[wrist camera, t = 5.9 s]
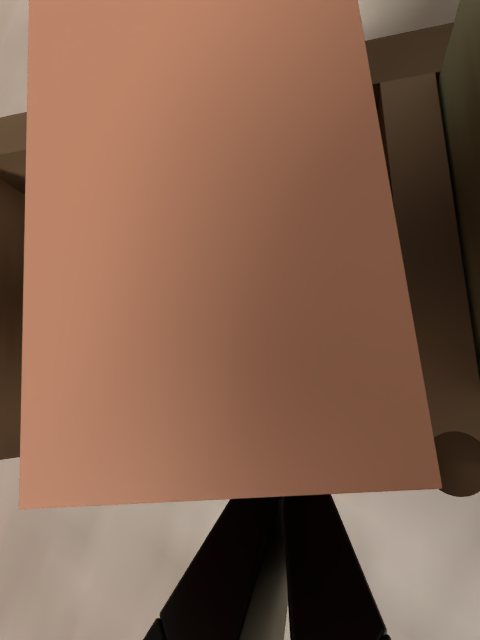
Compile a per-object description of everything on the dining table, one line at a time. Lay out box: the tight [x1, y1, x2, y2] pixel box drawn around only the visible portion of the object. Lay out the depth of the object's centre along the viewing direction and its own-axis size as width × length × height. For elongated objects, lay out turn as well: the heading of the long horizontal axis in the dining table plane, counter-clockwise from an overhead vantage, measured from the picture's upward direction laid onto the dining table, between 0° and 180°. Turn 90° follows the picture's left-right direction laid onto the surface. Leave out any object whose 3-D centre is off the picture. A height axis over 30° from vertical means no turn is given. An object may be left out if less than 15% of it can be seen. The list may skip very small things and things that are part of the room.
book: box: [19, 0, 442, 509], centre depth 10 cm, size 8×4×12 cm, turn 5°
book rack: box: [0, 0, 480, 497], centre depth 11 cm, size 10×20×10 cm, turn 92°
